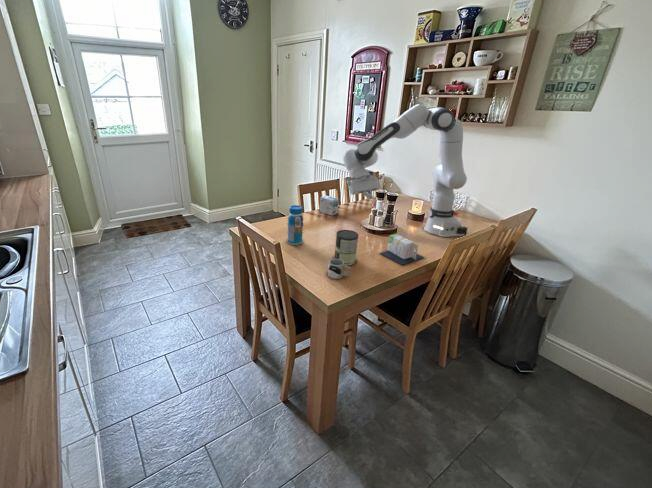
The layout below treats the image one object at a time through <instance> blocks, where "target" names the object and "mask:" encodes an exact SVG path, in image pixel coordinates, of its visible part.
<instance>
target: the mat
mask: <svg viewBox="0 0 652 488" xmlns="http://www.w3.org/2000/svg"><path fill="white" fill-rule="evenodd" d="M414 254H415V252H414ZM379 255H381V256H383V257H385V258H387V259H389V260H391V261H393V262H395V263H397V264H399V265H400V266H405V265H408V264H411V263H414V262H416V261H419V260H422V259H424V256H422V255H420V254H418V253H417V255H416V259H413V258H412V257H410V258H407V259H403V258H401V257H399V256H397V255H395V254H394V253H392V252H390V251H388V250H385V251H383V252H380V254H379Z"/></svg>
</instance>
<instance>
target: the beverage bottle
mask: <svg viewBox="0 0 652 488" xmlns="http://www.w3.org/2000/svg"><path fill="white" fill-rule="evenodd" d="M288 209H289V215H288V216H287V237H286V238H287V240H286V242H287V244H289V245H293V246H297V245H301V244H302V243H303V231H304V230H303V229H304V222H303V221H304V216H303V207H302V206H301V205H295V204H293V205H290V206H289V208H288Z"/></svg>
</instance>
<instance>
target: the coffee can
mask: <svg viewBox="0 0 652 488" xmlns="http://www.w3.org/2000/svg"><path fill="white" fill-rule="evenodd" d="M335 233H336V237H335V249H334V258H333V259H341V260H343V261H344V264H345V265H347V266H351V265H354V264H355V263H356V258H357V248H358V242H359V241H358V240H359V233H358V232H356V231H355V230H352V229H340V230H337V231H336V232H335Z"/></svg>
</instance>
